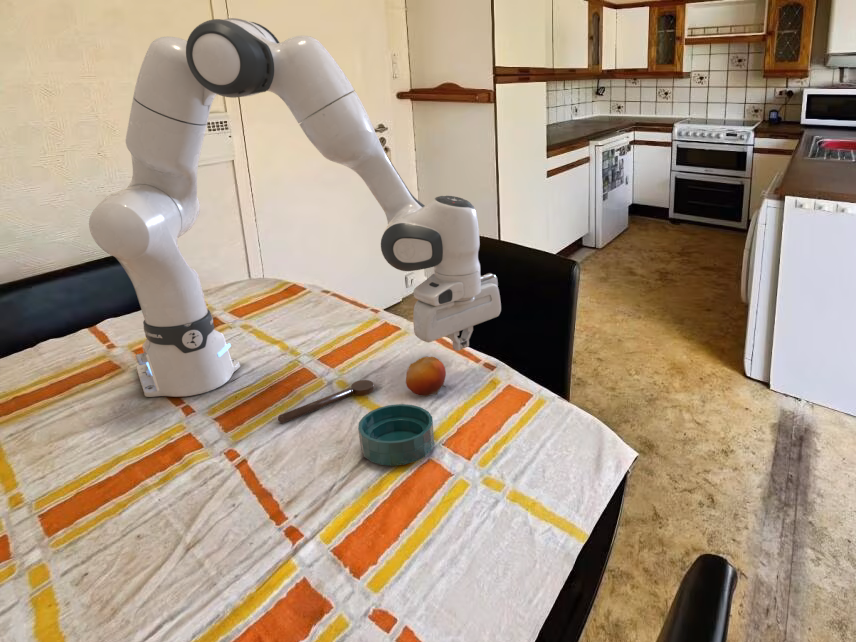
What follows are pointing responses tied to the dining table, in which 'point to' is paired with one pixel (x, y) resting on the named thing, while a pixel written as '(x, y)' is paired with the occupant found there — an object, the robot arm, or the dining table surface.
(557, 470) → the dining table surface
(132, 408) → the dining table surface
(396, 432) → the bowl
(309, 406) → the spoon
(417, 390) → the fruit
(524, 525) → the dining table surface
